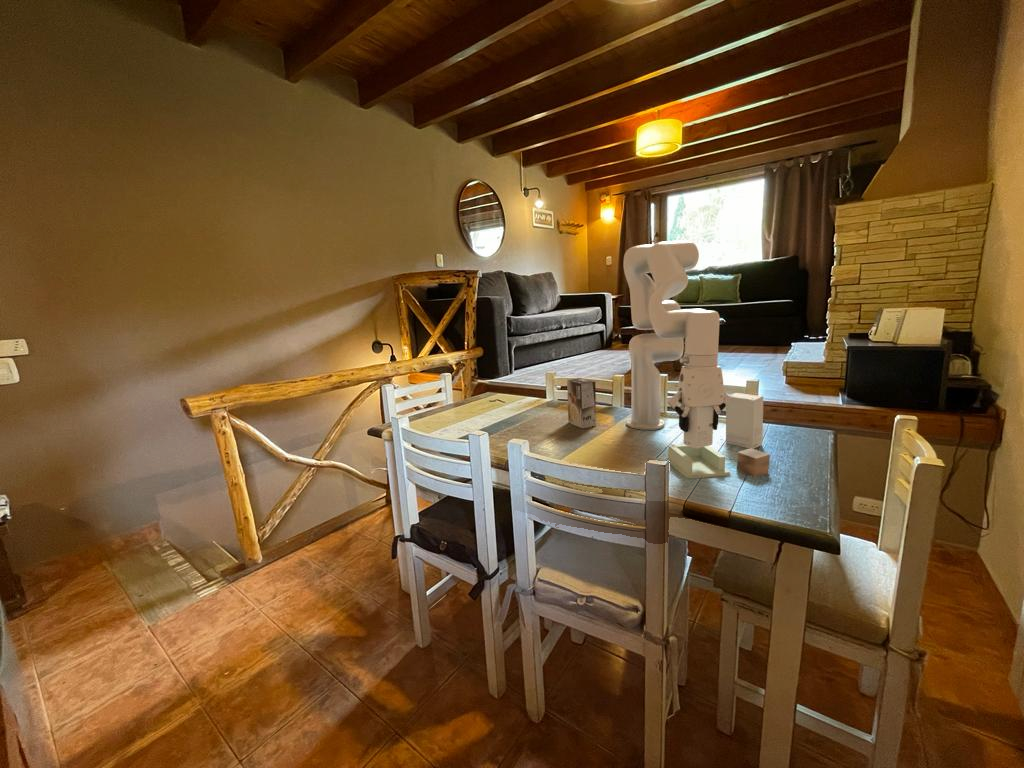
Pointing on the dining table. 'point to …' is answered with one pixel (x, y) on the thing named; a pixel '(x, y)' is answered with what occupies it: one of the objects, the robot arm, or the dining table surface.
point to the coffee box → (581, 402)
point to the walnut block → (753, 462)
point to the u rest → (697, 461)
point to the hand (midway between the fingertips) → (698, 428)
